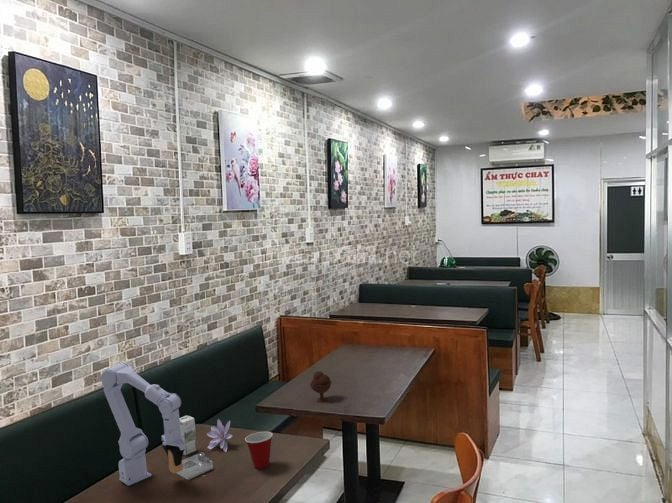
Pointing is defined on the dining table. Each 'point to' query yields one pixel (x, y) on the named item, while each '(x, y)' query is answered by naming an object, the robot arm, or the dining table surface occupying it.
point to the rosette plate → (195, 466)
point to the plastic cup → (260, 448)
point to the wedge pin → (173, 464)
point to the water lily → (219, 436)
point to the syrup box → (188, 434)
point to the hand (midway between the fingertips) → (175, 463)
